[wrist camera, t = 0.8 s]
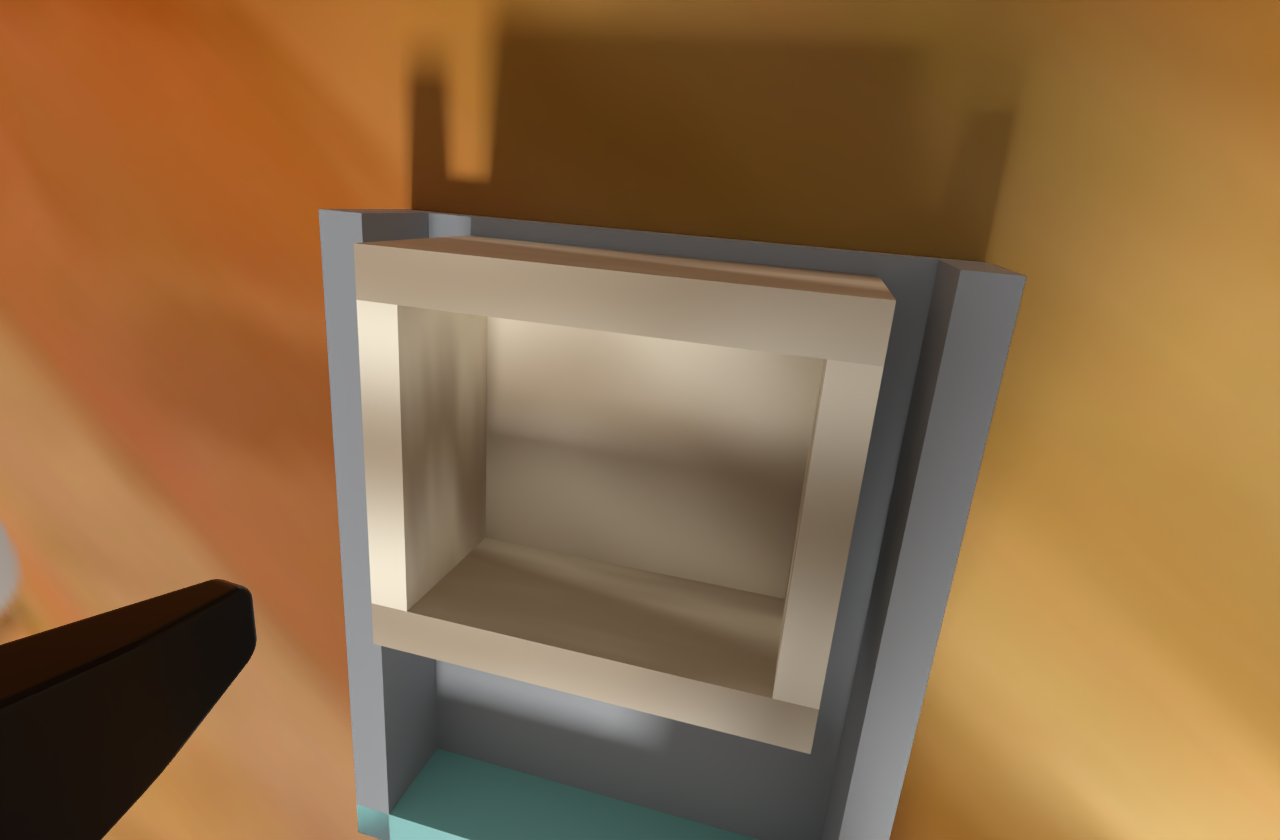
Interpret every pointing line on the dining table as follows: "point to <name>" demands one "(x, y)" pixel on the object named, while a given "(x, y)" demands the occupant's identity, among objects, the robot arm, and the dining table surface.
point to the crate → (617, 469)
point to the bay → (649, 744)
